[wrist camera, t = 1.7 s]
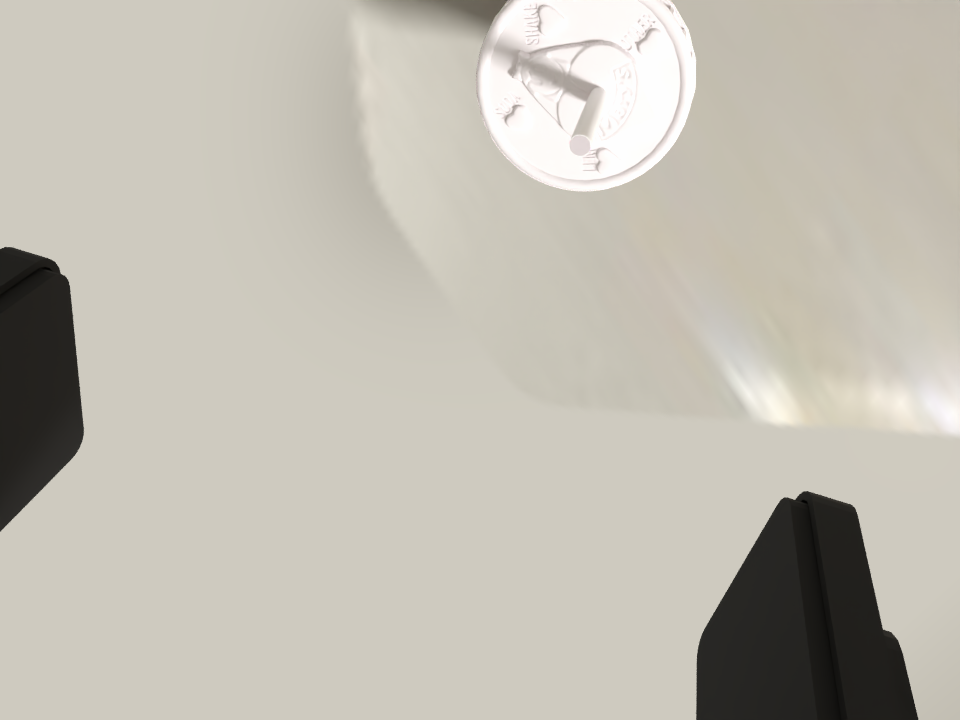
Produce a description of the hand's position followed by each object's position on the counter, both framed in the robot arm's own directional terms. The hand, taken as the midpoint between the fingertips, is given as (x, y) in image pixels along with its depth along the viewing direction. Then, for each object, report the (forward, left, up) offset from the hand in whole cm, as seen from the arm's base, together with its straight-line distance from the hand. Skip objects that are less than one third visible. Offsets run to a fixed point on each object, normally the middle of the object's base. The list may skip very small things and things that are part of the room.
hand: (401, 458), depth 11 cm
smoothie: (0, 0, -26) cm, 26 cm away
